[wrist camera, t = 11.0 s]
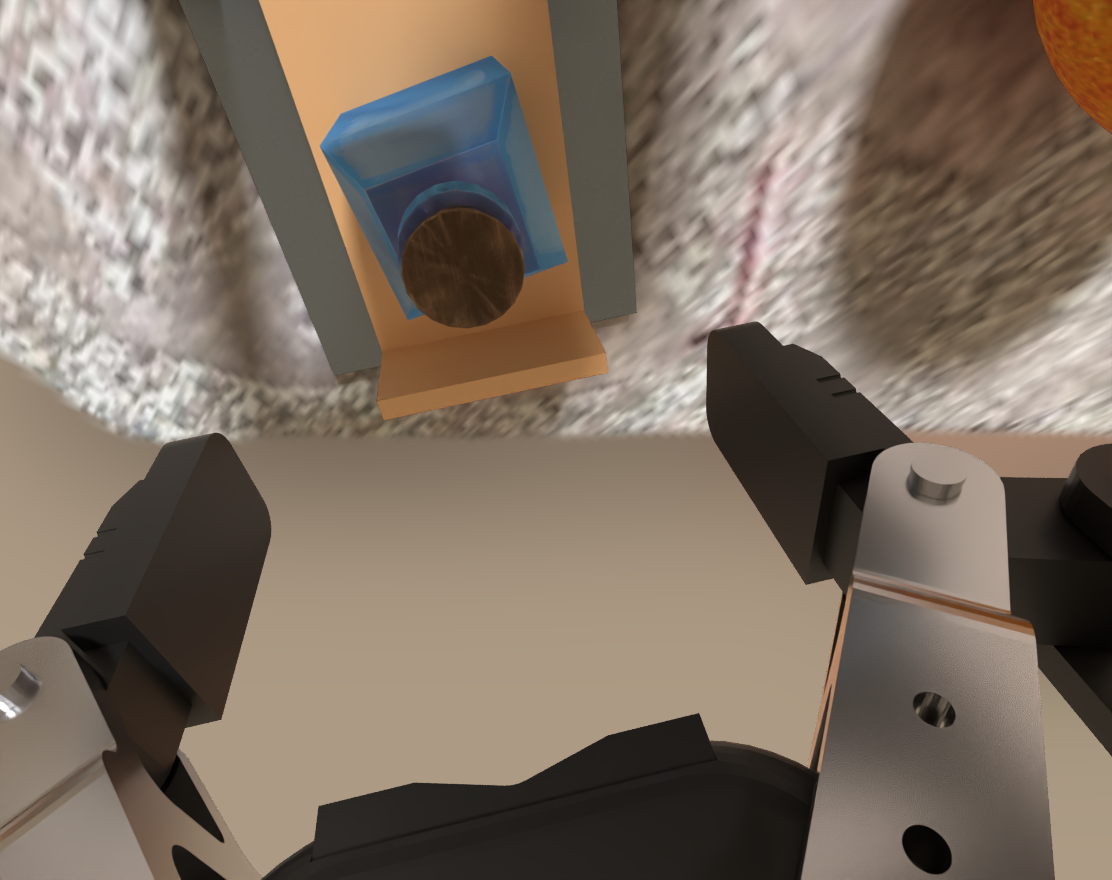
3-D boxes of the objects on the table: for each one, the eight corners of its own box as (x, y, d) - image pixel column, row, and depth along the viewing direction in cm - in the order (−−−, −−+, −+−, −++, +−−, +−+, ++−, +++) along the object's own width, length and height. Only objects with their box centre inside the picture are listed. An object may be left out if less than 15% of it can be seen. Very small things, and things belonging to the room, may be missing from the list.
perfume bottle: (541, 212, 27) (606, 332, 18) (410, 261, 27) (404, 406, 18) (491, 55, 23) (540, 99, 14) (340, 113, 24) (286, 196, 14)
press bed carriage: (253, -38, 22) (208, -46, 17) (531, -85, 22) (560, -104, 18) (389, 357, 31) (384, 420, 27) (581, 318, 32) (607, 372, 27)
